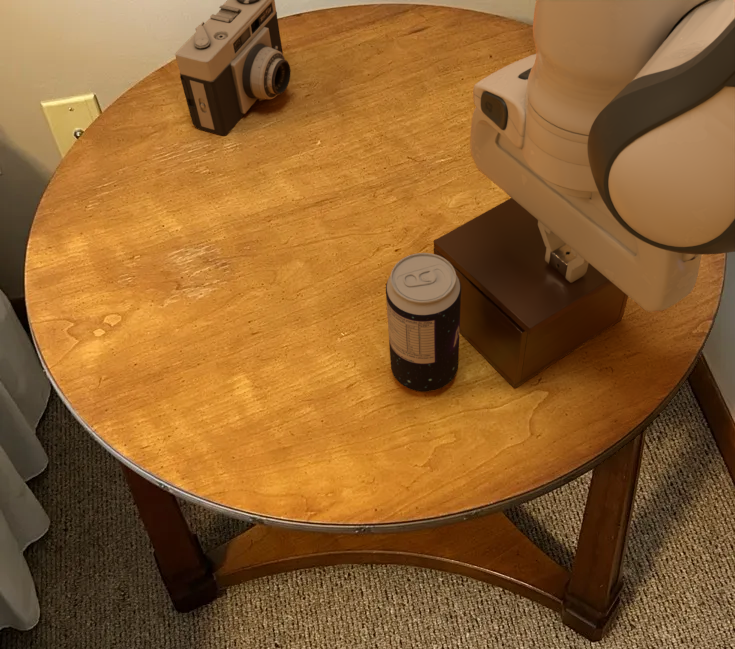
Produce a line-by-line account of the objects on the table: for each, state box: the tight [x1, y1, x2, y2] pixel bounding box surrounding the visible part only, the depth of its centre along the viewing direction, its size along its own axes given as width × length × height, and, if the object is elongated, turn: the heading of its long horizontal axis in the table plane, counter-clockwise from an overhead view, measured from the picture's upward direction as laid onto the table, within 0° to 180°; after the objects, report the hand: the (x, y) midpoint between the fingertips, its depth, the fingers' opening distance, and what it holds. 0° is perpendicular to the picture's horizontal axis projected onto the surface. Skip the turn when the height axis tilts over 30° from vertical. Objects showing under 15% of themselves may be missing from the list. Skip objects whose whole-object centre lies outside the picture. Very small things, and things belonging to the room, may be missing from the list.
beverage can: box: [385, 252, 461, 393], centre depth 69 cm, size 6×6×12 cm
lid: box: [433, 197, 612, 335], centre depth 70 cm, size 12×12×1 cm
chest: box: [433, 247, 629, 389], centre depth 74 cm, size 11×12×8 cm
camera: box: [174, 0, 292, 137], centre depth 94 cm, size 14×8×10 cm, turn 154°
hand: (565, 268), depth 68 cm, fingers closed
